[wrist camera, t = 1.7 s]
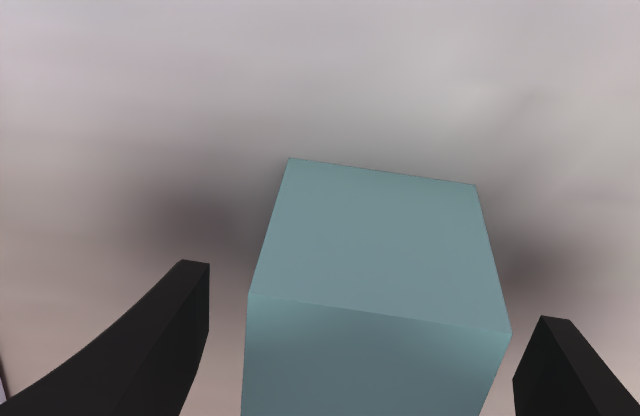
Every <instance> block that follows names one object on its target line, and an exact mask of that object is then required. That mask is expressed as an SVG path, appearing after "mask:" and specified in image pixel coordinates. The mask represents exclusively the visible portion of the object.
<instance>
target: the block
mask: <svg viewBox="0 0 640 416" xmlns="http://www.w3.org/2000/svg"><path fill="white" fill-rule="evenodd" d="M512 335H513V333H512V329H511V325H510V321H509V317H508V313H507V309H506V305H505V301H504V297H503V293H502V289H501V286H500V282H499V278H498V274H497V270H496V266H495V262H494V258H493V254H492V250H491V246H490V242H489V238H488V234H487V230H486V226H485V222H484V218H483V214H482V210H481V206H480V202H479V198H478V194H477V190H476V186H475V185H471V184H464V183H457V182H450V181H444V180H437V179H430V178H424V177H417V176H410V175H403V174H397V173H390V172H383V171H376V170H370V169H363V168H356V167H350V166H343V165H336V164H329V163H323V162H316V161H309V160H302V159H296V158H289V159H288V163H287V166H286V169H285V173H284V176H283V179H282V183H281V186H280V189H279V193H278V196H277V199H276V203H275V206H274V209H273V213H272V216H271V219H270V223H269V226H268V229H267V233H266V236H265V239H264V243H263V246H262V249H261V253H260V256H259V259H258V263H257V266H256V269H255V272H254V276H253V279H252V282H251V286H250V289H249V292H248V304H247V320H246V336H245V352H244V368H243V384H242V400H241V416H479V414H480V412H481V409H482V407H483V404H484V402H485V400H486V397H487V395H488V392H489V390H490V388H491V385H492V383H493V380H494V378H495V376H496V373H497V371H498V368H499V366H500V363H501V361H502V359H503V356H504V354H505V351H506V349H507V347H508V344H509V342H510V339H511V337H512Z"/></svg>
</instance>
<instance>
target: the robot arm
mask: <svg viewBox="0 0 640 416" xmlns="http://www.w3.org/2000/svg"><path fill="white" fill-rule="evenodd" d="M209 275H210V264H209V263H202V262H196V261H190V260H183V259H182V260H180V261H179V262H177V263H176V264H175V265H174V266H173V267H172V268H171V269H170V271H169V272H168V273H167V274H166V275H165V276H164V277H163V278H162V279H161V280H160V281H159V282H158V283H157V284H156V285H155V286H154V287H153V288H152V289H150V290H149V291H148V292H147V293H146V294H145V295H144V296H143V297H142V298H141V299H140V300H139V301H138V302H137V303H136V304H135V305H133V306H132V307H131V308H130V309H129V310H128V311H127V312H126V313H125V314H124V315H122V316H121V317H120V318H119V319H118V320H117V321H116V322H115V323H113V324H112V325H111V326H110V327H109V328H107V329H106V330H105V331H104V332H103V333H101V334H100V335H99V336H98V337H96V338H95V339H94V340H93V341H92V342H90V343H89V344H88V345H87V346H85V347H84V348H83V349H82V350H80V351H79V352H78V353H76V354H75V355H74V356H72V357H71V358H70V359H68V360H67V361H66V362H64V363H63V364H61V365H60V366H59V367H57V368H56V369H54V370H53V371H51V372H50V373H49V374H47V375H46V376H44V377H43V378H41V379H40V380H38V381H37V382H35V383H34V384H32V385H31V386H29V387H27V388H26V389H24V390H23V391H21V392H19V393H18V394H16V395H15V396H13V397H12V398H10V399H8V400H6V397H5V393H4V389H3V386H2V382H1V379H0V416H179V414H180V412H181V409H182V407H183V405H184V402H185V400H186V397H187V395H188V393H189V390H190V388H191V386H192V383H193V381H194V378H195V376H196V373H197V370H198V367H199V363H200V360H201V357H202V353H203V350H204V346H205V343H206V339H207V336H208V332H209ZM512 380H513V392H514V404H515V413H516V416H640V405H639V403H638V402H637V401H636V400H635V399H634V398H633V396H632V395H631V394H630V393H629V392H628V391H627V389H626V388H625V387H624V386H623V385H622V383H621V382H620V381H619V380H618V379H617V377H616V376H615V375H614V374H613V372H612V371H611V370H610V369H609V368H608V366H607V365H606V364H605V363H604V361H603V360H602V359H601V358H600V356H599V355H598V354H597V353H596V351H595V350H594V349H593V348H592V346H591V345H590V344H589V343H588V341H587V340H586V339H585V338H584V337H583V335H582V334H581V333H580V332H579V330H578V329H577V328H576V327H575V326H574V324H573V323H572V322H571V321H570V320H568V319H562V318H555V317H549V316H542V315H541V316H540V318H539V321H538V323H537V325H536V327H535V330H534V332H533V334H532V336H531V339H530V341H529V343H528V345H527V348H526V350H525V352H524V354H523V357H522V359H521V361H520V363H519V366H518V368H517V370H516V372H515V375H514V377H513V379H512Z"/></svg>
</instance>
